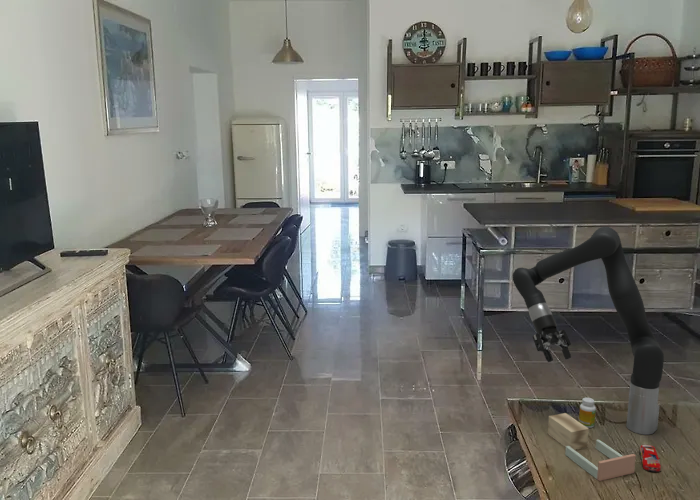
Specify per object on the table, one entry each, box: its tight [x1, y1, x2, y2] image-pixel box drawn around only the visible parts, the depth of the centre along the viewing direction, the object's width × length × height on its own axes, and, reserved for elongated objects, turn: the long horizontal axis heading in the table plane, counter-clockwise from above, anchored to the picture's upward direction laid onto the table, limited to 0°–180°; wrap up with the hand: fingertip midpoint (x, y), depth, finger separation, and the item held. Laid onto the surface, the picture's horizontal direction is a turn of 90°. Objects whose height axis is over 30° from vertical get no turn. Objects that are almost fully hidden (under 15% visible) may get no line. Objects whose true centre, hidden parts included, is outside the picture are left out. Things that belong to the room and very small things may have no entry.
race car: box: [638, 444, 662, 473], centre depth 193 cm, size 13×5×4 cm, turn 159°
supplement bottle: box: [578, 397, 597, 429], centre depth 217 cm, size 5×5×10 cm
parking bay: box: [564, 439, 637, 482], centre depth 192 cm, size 13×16×6 cm
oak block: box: [547, 412, 590, 451], centre depth 206 cm, size 7×12×7 cm, turn 19°
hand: (559, 360), depth 211 cm, fingers open, 8 cm apart
